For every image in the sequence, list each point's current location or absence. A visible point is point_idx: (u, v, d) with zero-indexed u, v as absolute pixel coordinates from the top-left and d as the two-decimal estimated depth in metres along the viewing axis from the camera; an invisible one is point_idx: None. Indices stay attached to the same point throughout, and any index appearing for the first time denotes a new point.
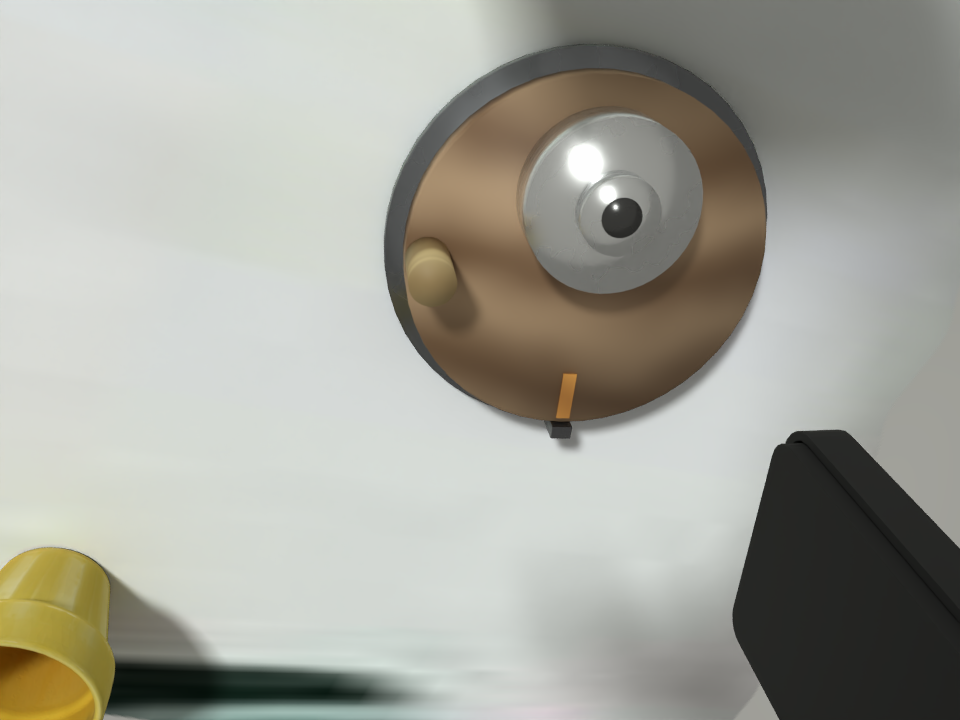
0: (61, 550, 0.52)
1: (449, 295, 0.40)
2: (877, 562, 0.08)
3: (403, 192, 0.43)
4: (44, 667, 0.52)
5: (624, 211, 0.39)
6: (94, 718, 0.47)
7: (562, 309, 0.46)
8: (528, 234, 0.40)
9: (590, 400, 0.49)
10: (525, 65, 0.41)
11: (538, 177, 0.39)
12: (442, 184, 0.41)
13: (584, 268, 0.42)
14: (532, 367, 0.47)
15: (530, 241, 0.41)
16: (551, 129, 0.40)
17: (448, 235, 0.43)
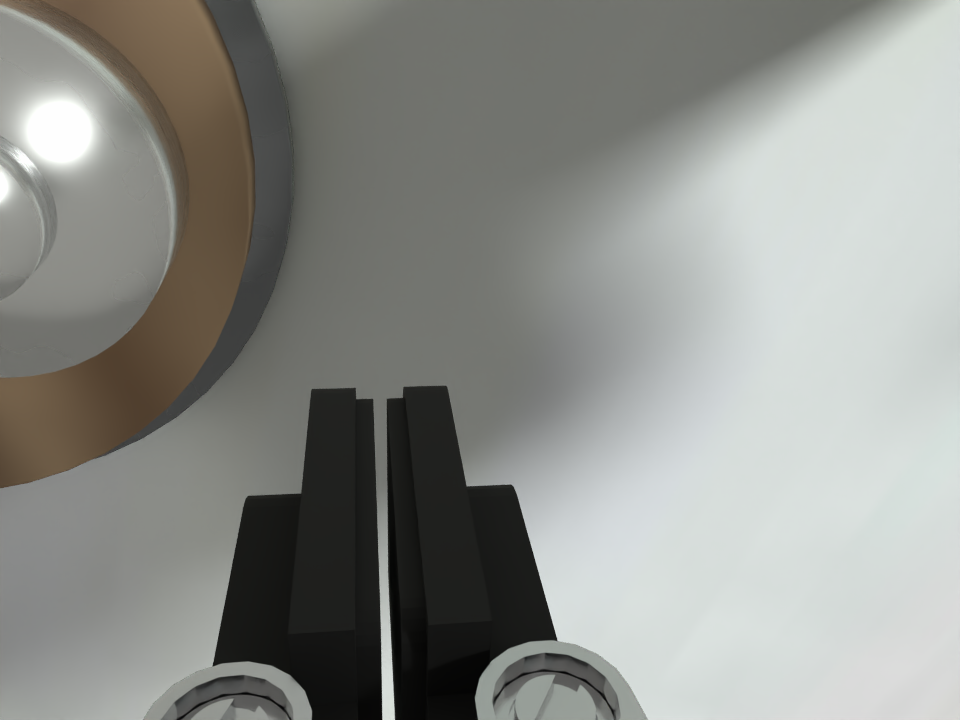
0: None
1: None
2: (394, 501, 0.08)
3: None
4: None
5: None
6: None
7: None
8: None
9: None
10: None
11: None
12: None
13: None
14: None
15: None
16: (113, 49, 0.20)
17: None
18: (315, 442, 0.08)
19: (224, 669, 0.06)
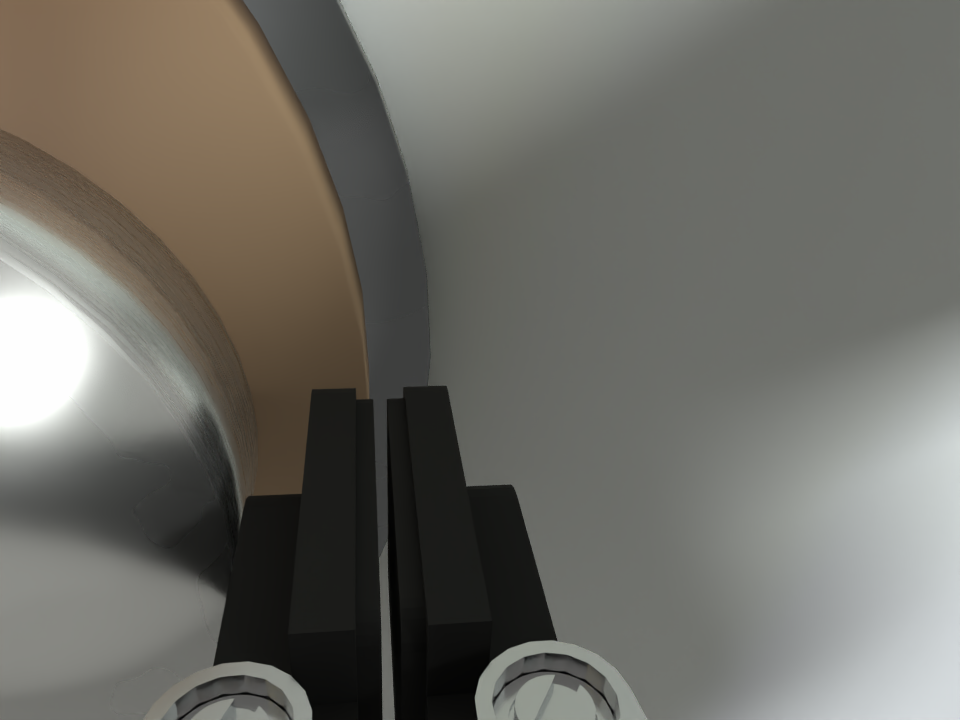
0: None
1: None
2: (393, 500, 0.08)
3: None
4: None
5: None
6: None
7: None
8: None
9: None
10: (345, 72, 0.11)
11: None
12: None
13: None
14: None
15: None
16: (115, 209, 0.09)
17: None
18: (315, 442, 0.08)
19: (224, 669, 0.06)
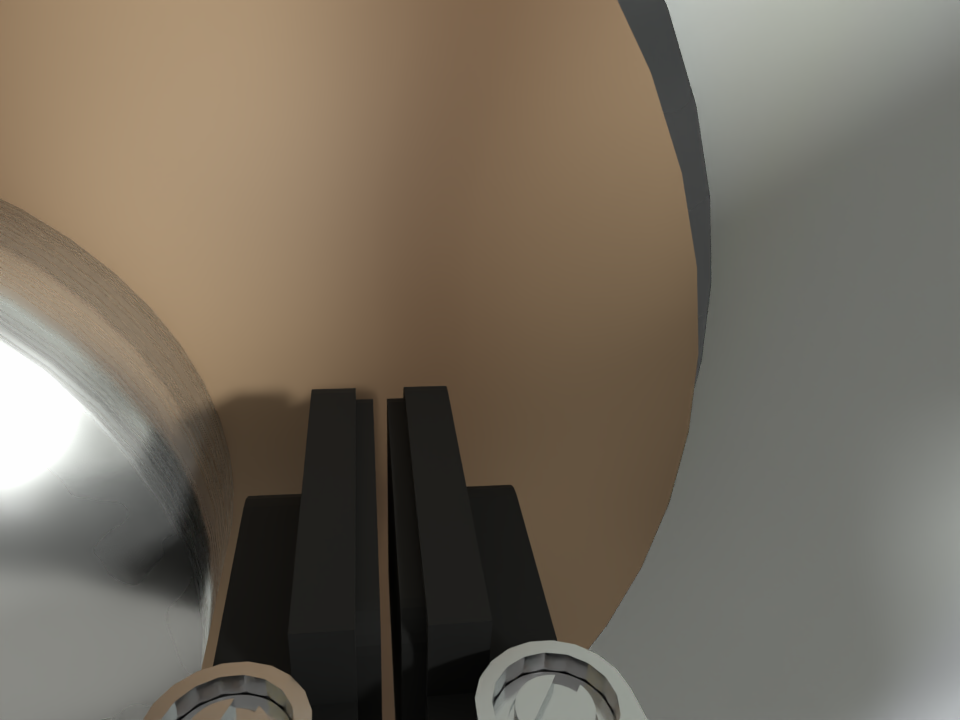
0: None
1: None
2: (394, 500, 0.08)
3: None
4: None
5: None
6: None
7: None
8: None
9: None
10: (670, 92, 0.12)
11: None
12: None
13: None
14: None
15: None
16: (64, 246, 0.09)
17: None
18: (315, 442, 0.08)
19: (224, 669, 0.06)
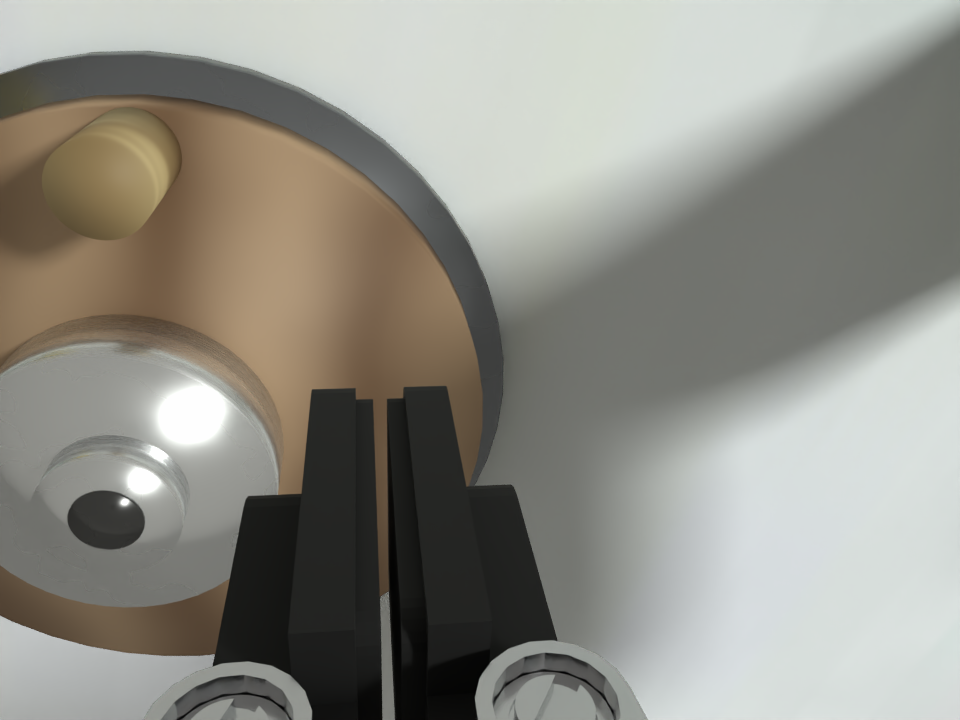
0: None
1: (79, 226, 0.19)
2: (394, 500, 0.08)
3: (249, 92, 0.24)
4: None
5: (119, 521, 0.23)
6: None
7: None
8: (29, 369, 0.22)
9: None
10: (475, 279, 0.27)
11: (143, 367, 0.22)
12: (289, 174, 0.23)
13: None
14: None
15: (16, 375, 0.22)
16: (228, 353, 0.25)
17: (190, 191, 0.23)
18: (315, 442, 0.08)
19: (224, 669, 0.06)
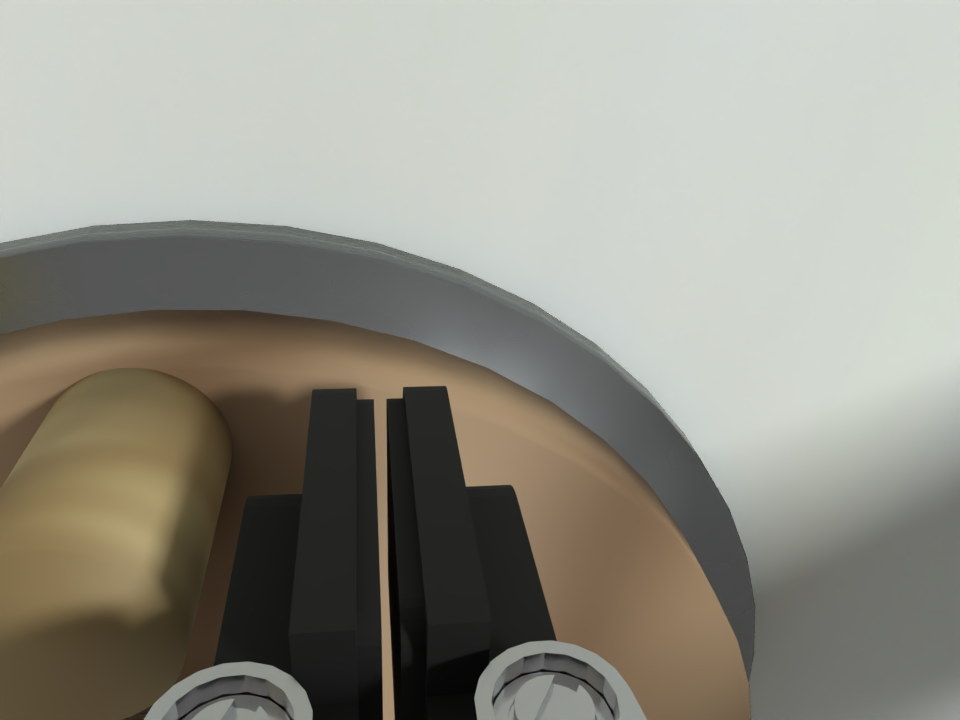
0: None
1: (23, 712, 0.08)
2: (393, 500, 0.08)
3: (378, 291, 0.13)
4: None
5: None
6: None
7: None
8: None
9: None
10: (729, 552, 0.16)
11: None
12: None
13: None
14: None
15: None
16: None
17: None
18: (316, 442, 0.08)
19: (225, 669, 0.06)
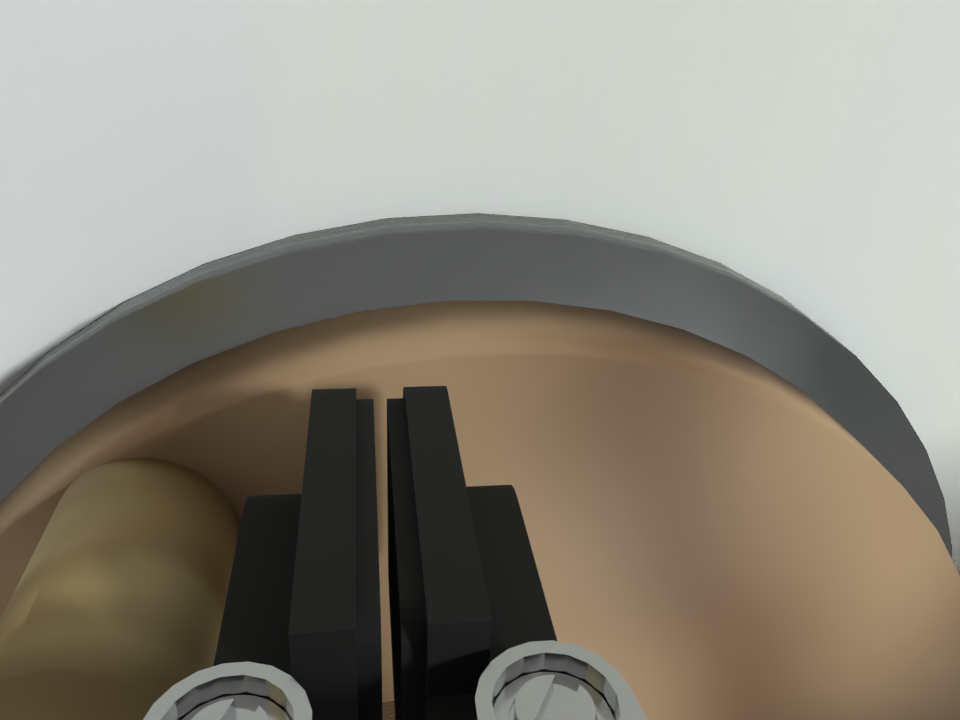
0: None
1: None
2: (394, 500, 0.08)
3: (657, 283, 0.13)
4: None
5: None
6: None
7: None
8: None
9: None
10: None
11: None
12: None
13: None
14: None
15: None
16: None
17: None
18: (316, 442, 0.08)
19: (225, 669, 0.06)
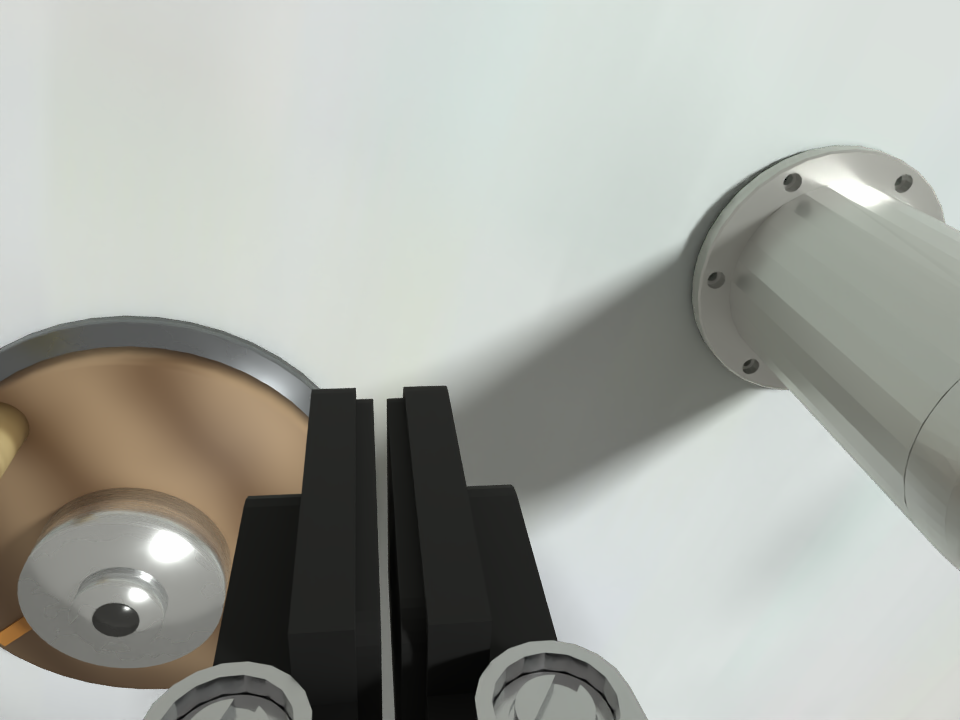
0: None
1: None
2: (394, 500, 0.08)
3: (189, 339, 0.37)
4: None
5: (121, 617, 0.37)
6: None
7: None
8: (27, 562, 0.36)
9: (40, 645, 0.42)
10: None
11: (78, 532, 0.36)
12: (76, 384, 0.35)
13: (55, 620, 0.38)
14: (12, 582, 0.40)
15: (24, 568, 0.36)
16: (137, 491, 0.38)
17: (40, 424, 0.36)
18: (315, 442, 0.08)
19: (224, 668, 0.06)
